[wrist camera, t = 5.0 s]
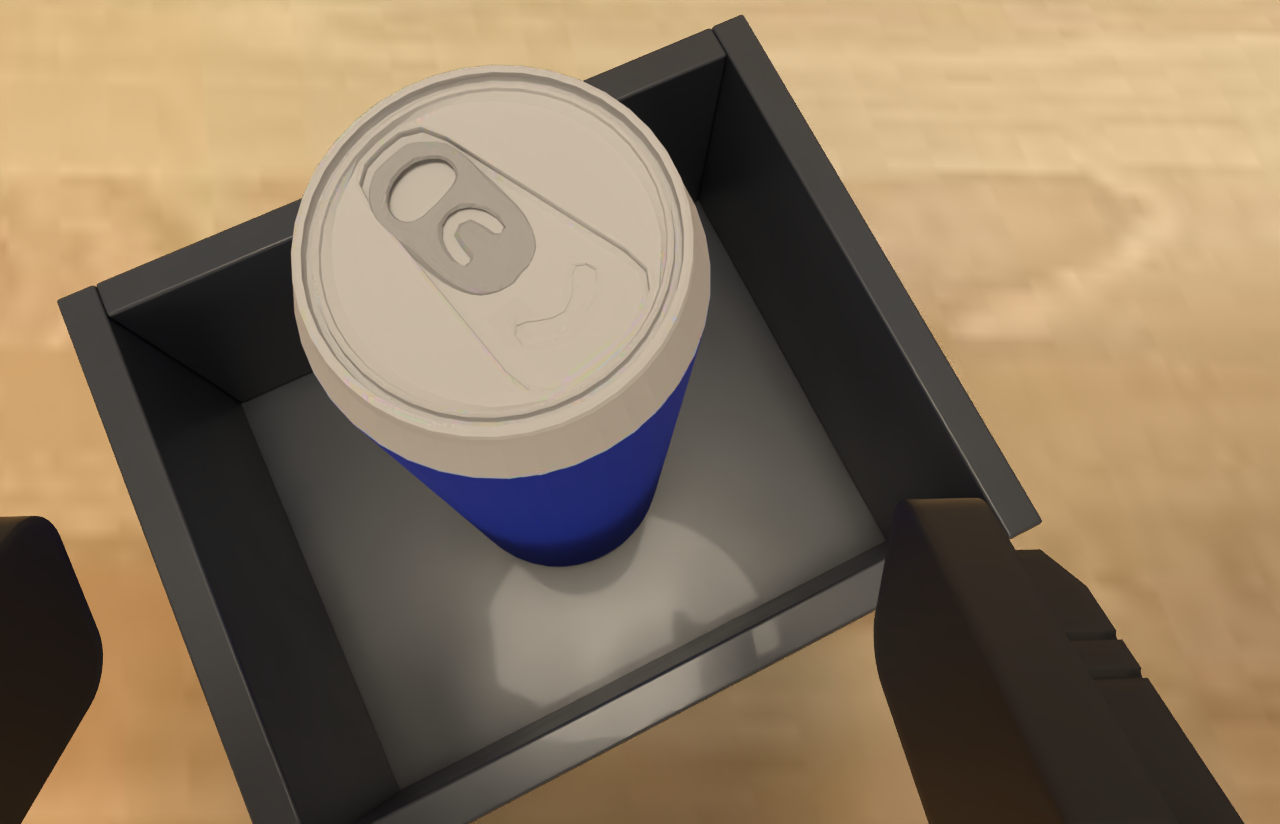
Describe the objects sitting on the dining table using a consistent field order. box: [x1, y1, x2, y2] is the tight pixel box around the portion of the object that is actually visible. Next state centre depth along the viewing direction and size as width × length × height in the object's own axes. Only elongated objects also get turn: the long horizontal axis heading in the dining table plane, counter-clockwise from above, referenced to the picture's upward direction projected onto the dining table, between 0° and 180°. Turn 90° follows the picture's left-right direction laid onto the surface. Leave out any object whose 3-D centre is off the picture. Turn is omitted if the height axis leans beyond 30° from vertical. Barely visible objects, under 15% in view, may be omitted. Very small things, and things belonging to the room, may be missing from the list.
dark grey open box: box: [57, 15, 1042, 824], centre depth 22 cm, size 16×13×8 cm
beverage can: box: [291, 65, 710, 567], centre depth 18 cm, size 5×5×15 cm
